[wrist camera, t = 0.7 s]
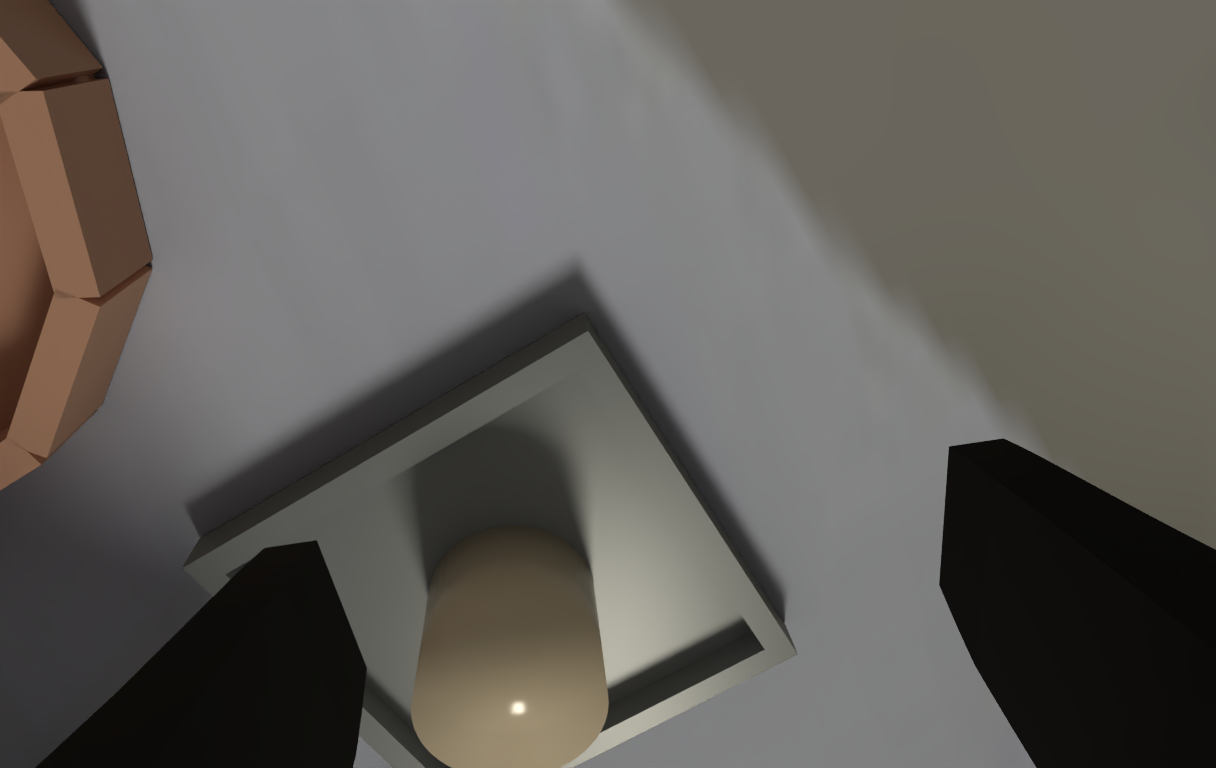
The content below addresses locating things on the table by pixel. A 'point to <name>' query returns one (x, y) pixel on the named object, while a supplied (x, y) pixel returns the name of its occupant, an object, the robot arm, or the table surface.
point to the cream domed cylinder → (510, 654)
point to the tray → (532, 497)
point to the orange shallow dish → (60, 236)
